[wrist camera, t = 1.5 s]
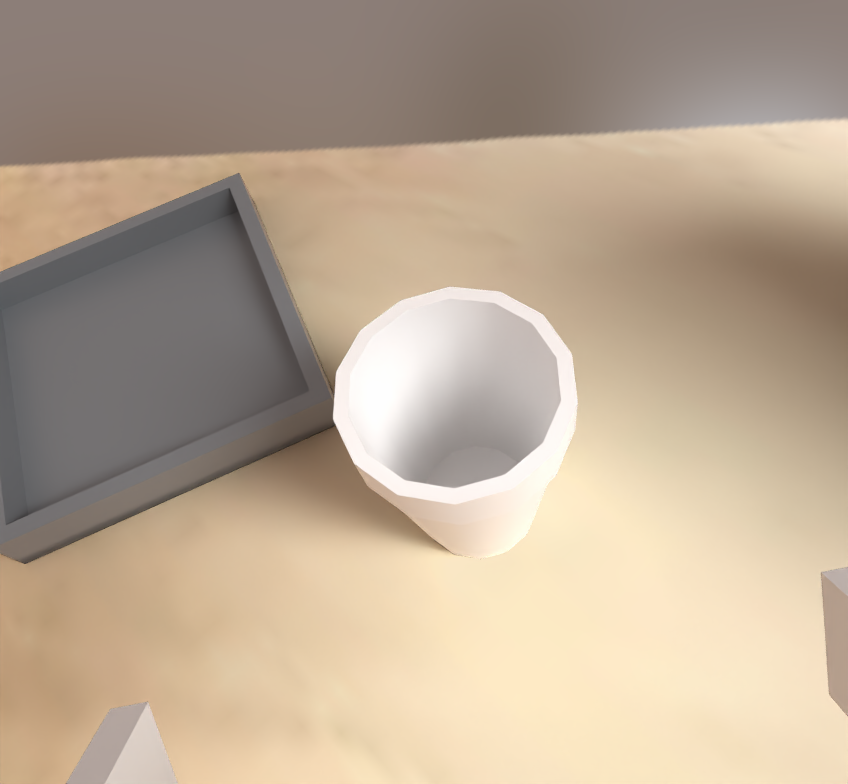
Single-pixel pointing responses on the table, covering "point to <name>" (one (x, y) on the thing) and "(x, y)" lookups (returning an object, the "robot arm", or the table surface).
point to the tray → (147, 368)
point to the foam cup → (459, 414)
